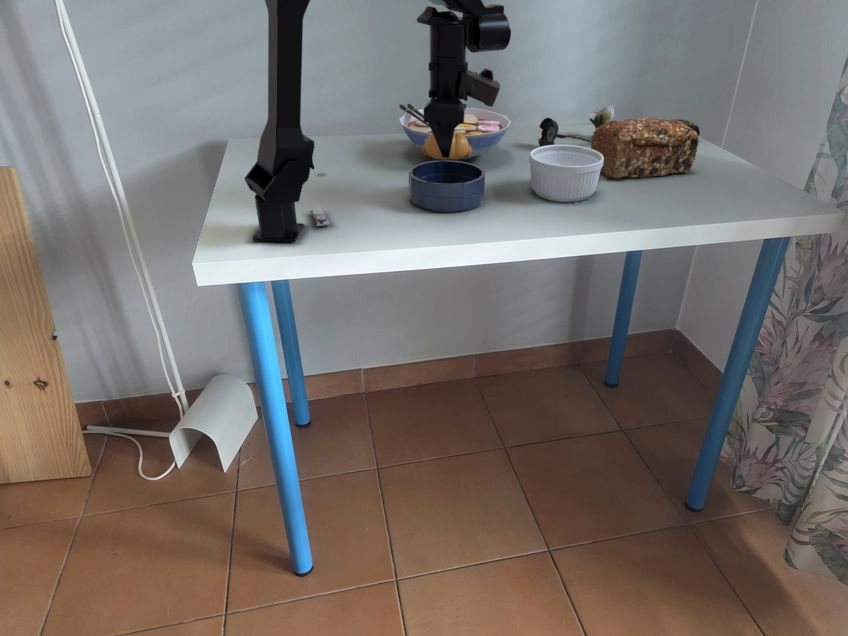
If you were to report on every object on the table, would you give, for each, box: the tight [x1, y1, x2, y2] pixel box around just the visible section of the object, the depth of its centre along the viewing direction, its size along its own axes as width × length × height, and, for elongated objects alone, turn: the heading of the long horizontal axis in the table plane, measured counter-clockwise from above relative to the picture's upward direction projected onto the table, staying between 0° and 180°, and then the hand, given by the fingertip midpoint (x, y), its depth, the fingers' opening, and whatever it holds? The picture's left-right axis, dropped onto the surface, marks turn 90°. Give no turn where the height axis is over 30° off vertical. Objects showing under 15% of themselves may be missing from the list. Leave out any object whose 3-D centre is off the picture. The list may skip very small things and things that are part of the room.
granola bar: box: [309, 208, 331, 227], centre depth 109 cm, size 7×2×1 cm, turn 21°
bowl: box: [408, 159, 486, 213], centre depth 118 cm, size 13×13×5 cm
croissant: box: [422, 133, 472, 161], centre depth 114 cm, size 5×9×4 cm, turn 88°
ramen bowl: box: [399, 103, 512, 162], centre depth 139 cm, size 25×23×8 cm
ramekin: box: [528, 144, 604, 203], centre depth 122 cm, size 13×13×7 cm
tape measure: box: [672, 118, 701, 137], centre depth 156 cm, size 7×7×4 cm
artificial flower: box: [537, 104, 615, 147], centre depth 150 cm, size 9×22×10 cm, turn 117°
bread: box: [590, 117, 700, 180], centre depth 134 cm, size 19×11×10 cm, turn 108°
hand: (446, 153), depth 115 cm, fingers closed on croissant, 4 cm apart
